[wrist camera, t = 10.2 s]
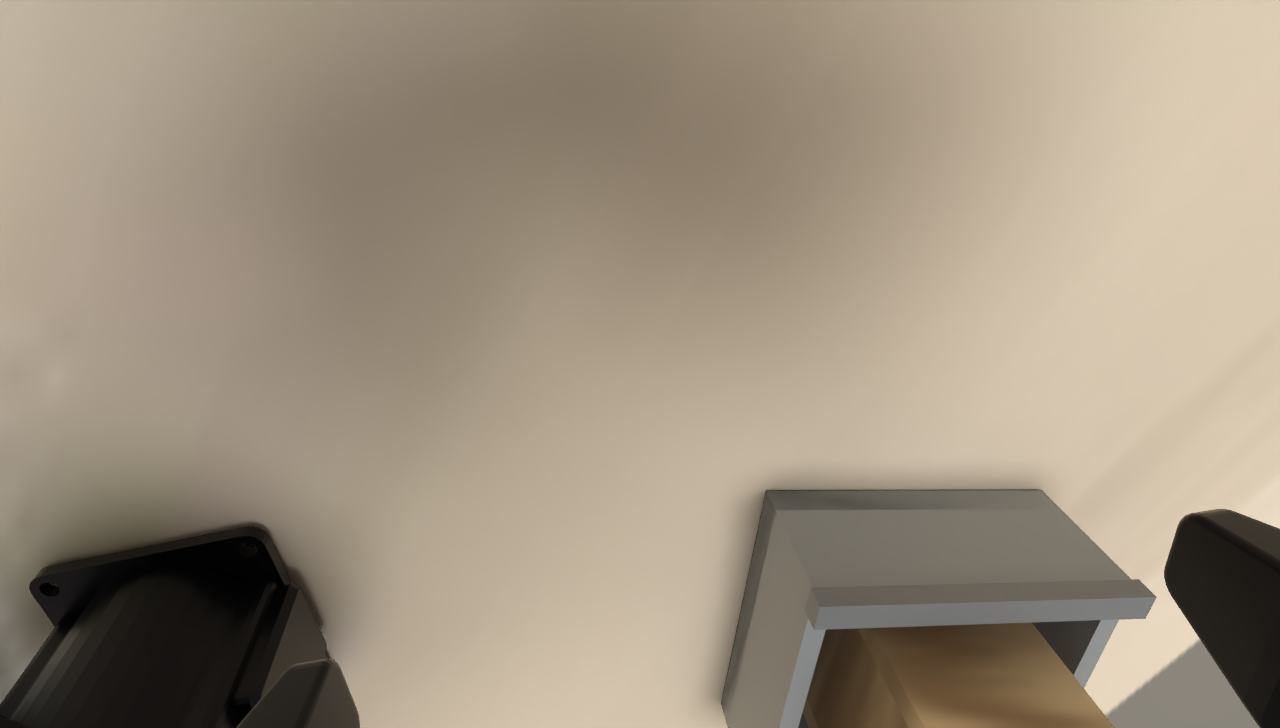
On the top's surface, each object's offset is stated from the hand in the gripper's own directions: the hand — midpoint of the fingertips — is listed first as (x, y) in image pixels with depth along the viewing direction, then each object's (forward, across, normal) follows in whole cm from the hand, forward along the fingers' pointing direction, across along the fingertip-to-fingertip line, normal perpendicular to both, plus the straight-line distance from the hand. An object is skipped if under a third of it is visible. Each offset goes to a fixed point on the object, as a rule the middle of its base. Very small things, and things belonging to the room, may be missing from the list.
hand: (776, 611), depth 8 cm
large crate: (+13, -7, +15) cm, 21 cm away
